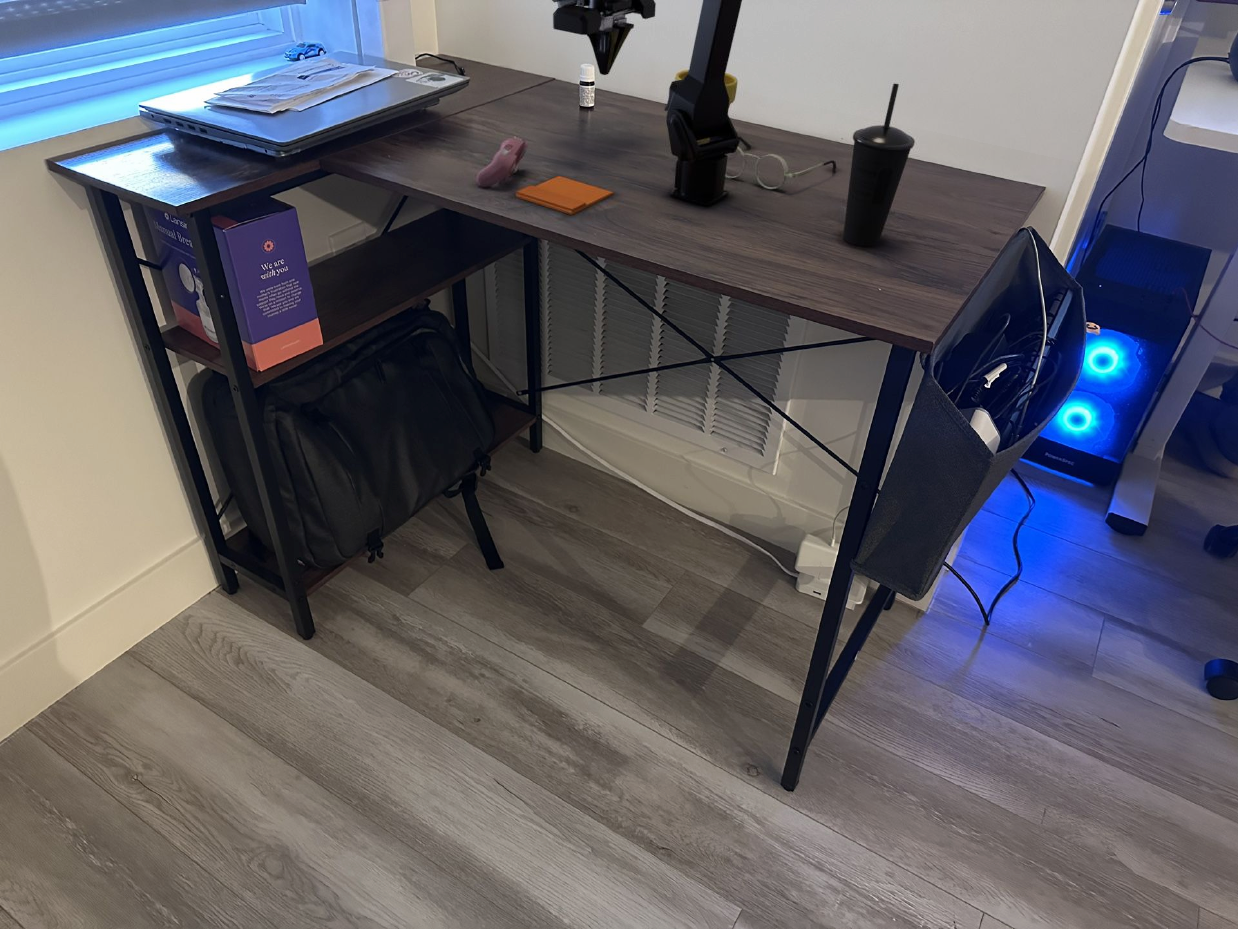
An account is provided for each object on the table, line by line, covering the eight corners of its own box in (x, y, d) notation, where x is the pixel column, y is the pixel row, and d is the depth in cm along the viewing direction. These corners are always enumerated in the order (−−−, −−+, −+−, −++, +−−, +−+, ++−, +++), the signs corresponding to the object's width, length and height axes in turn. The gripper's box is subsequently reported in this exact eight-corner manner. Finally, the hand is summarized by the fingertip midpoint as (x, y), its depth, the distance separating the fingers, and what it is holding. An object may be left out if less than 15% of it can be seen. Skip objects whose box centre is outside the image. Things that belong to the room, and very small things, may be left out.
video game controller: (500, 200, 128) (520, 160, 124) (472, 183, 128) (491, 142, 123) (518, 177, 136) (537, 138, 132) (492, 161, 135) (510, 122, 131)
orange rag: (612, 194, 128) (613, 189, 128) (571, 214, 121) (571, 209, 121) (558, 178, 132) (558, 173, 132) (516, 197, 126) (515, 191, 125)
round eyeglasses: (699, 170, 138) (702, 137, 135) (746, 146, 148) (750, 116, 145) (796, 197, 130) (802, 163, 127) (839, 170, 140) (845, 139, 137)
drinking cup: (899, 240, 119) (939, 85, 107) (872, 256, 115) (910, 96, 102) (850, 223, 123) (883, 72, 111) (822, 238, 119) (852, 82, 106)
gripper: (599, -55, 135) (597, 54, 145) (522, -42, 123) (525, 76, 132) (660, -46, 130) (653, 66, 140) (586, -32, 118) (584, 90, 128)
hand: (604, 74), depth 135 cm, fingers closed
